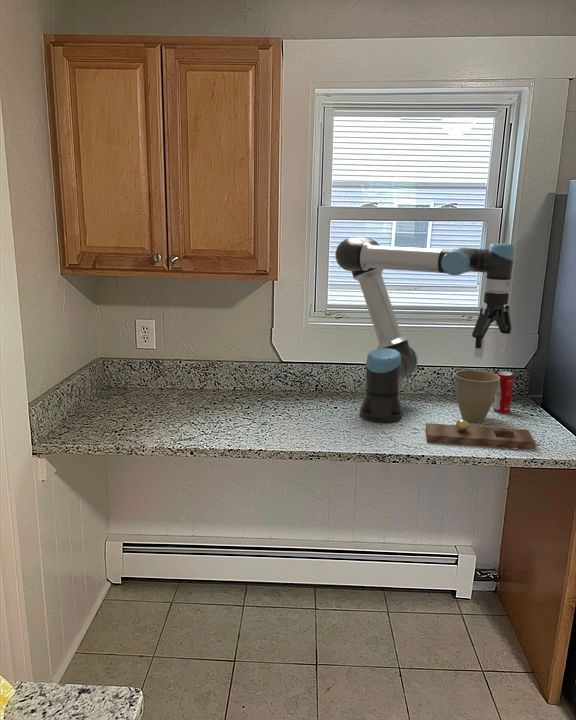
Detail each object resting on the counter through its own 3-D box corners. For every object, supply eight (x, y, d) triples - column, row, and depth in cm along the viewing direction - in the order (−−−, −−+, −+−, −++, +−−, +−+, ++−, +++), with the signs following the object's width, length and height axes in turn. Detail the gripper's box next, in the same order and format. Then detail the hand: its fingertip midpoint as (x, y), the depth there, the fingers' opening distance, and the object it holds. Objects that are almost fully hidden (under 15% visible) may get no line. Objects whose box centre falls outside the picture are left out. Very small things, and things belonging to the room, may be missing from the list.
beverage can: (507, 409, 214) (511, 370, 210) (512, 415, 207) (516, 374, 204) (491, 408, 214) (494, 369, 211) (495, 414, 208) (499, 374, 204)
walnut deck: (426, 442, 182) (427, 435, 181) (425, 430, 192) (426, 423, 192) (534, 450, 176) (535, 442, 176) (527, 437, 187) (527, 429, 186)
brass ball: (456, 433, 183) (457, 421, 182) (455, 428, 187) (455, 416, 186) (469, 433, 182) (470, 421, 181) (467, 429, 186) (468, 417, 185)
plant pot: (484, 429, 193) (488, 384, 189) (443, 419, 203) (447, 375, 199) (502, 418, 204) (507, 375, 200) (463, 409, 213) (466, 367, 210)
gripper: (486, 296, 178) (478, 362, 184) (527, 290, 194) (519, 351, 199) (465, 293, 184) (458, 357, 189) (506, 287, 200) (499, 347, 205)
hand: (489, 354), depth 194 cm, fingers open, 13 cm apart
